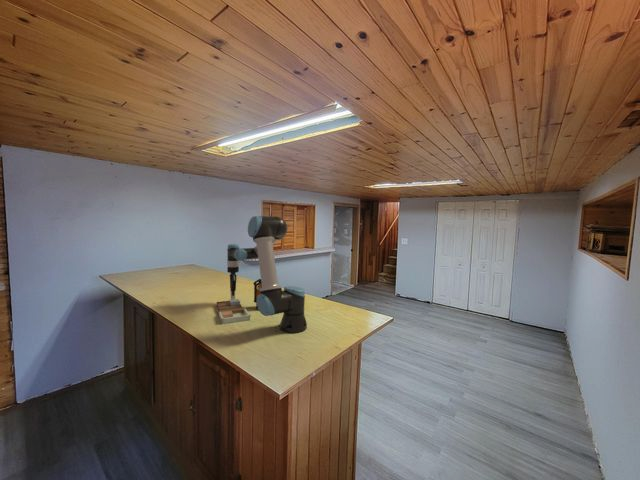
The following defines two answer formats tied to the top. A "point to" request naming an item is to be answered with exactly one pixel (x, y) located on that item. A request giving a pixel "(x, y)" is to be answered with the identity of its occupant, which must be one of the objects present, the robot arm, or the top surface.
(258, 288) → the canister
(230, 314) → the tile
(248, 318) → the tray
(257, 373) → the top surface
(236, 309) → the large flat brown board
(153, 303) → the top surface
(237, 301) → the tile
